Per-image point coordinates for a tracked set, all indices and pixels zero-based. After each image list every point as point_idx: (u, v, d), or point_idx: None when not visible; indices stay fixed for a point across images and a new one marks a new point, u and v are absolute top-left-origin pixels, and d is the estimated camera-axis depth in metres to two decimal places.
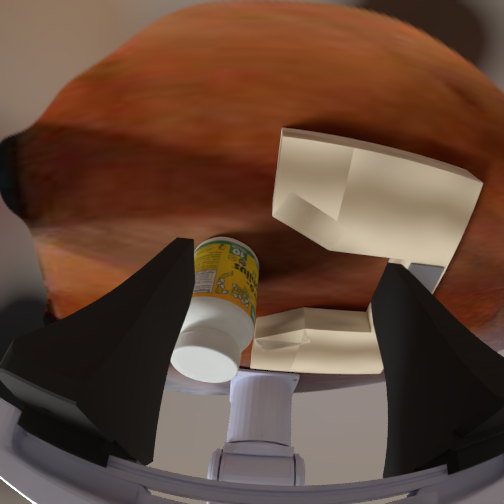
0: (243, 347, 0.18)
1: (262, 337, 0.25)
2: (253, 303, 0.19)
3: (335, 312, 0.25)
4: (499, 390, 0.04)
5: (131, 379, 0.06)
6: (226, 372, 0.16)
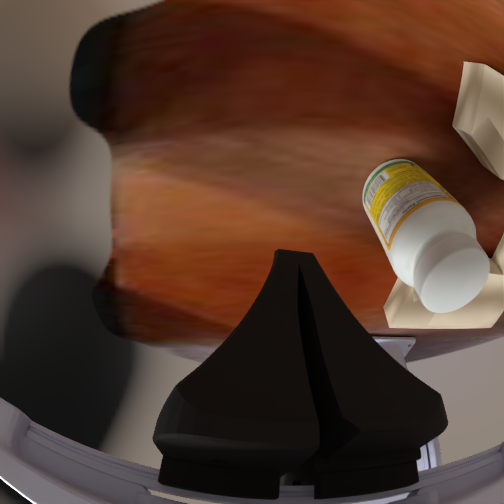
0: None
1: None
2: None
3: None
4: (356, 410, 0.04)
5: None
6: (473, 290, 0.11)
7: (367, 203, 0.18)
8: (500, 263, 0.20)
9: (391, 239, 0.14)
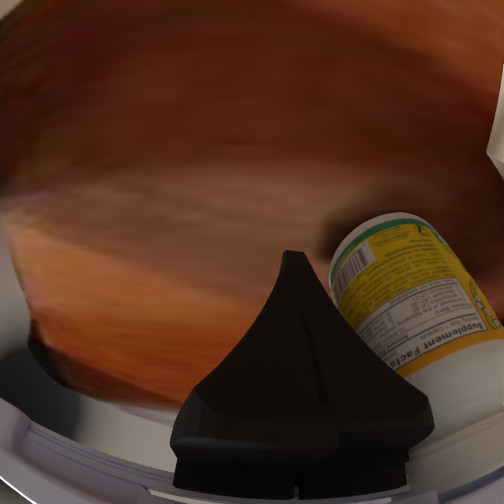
0: None
1: None
2: None
3: None
4: (337, 410, 0.04)
5: None
6: None
7: (334, 295, 0.11)
8: None
9: None
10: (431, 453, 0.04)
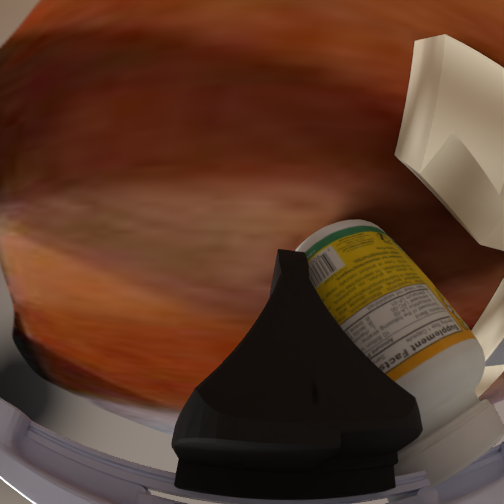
0: None
1: None
2: None
3: None
4: (319, 410, 0.04)
5: None
6: None
7: None
8: None
9: None
10: (430, 445, 0.05)
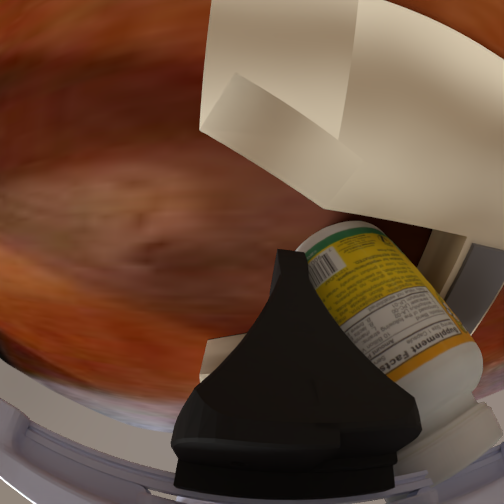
0: None
1: None
2: None
3: None
4: (318, 410, 0.04)
5: None
6: None
7: None
8: None
9: None
10: (429, 446, 0.05)
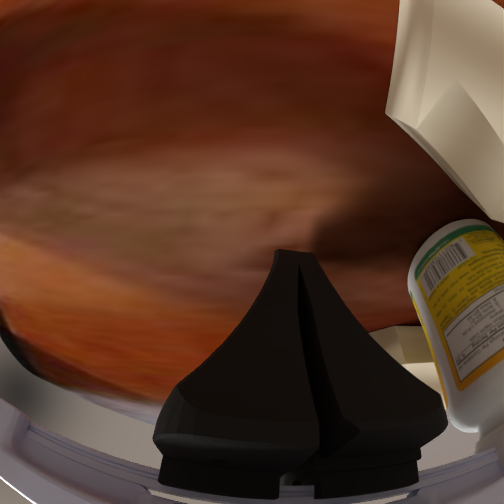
0: None
1: None
2: None
3: None
4: (357, 410, 0.04)
5: None
6: None
7: (423, 282, 0.10)
8: None
9: (471, 379, 0.06)
10: None
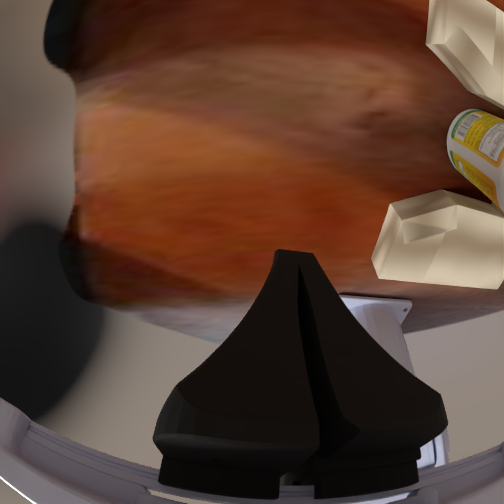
0: None
1: (410, 218, 0.17)
2: None
3: (469, 198, 0.18)
4: (357, 410, 0.04)
5: None
6: None
7: (458, 136, 0.14)
8: None
9: (501, 156, 0.10)
10: None
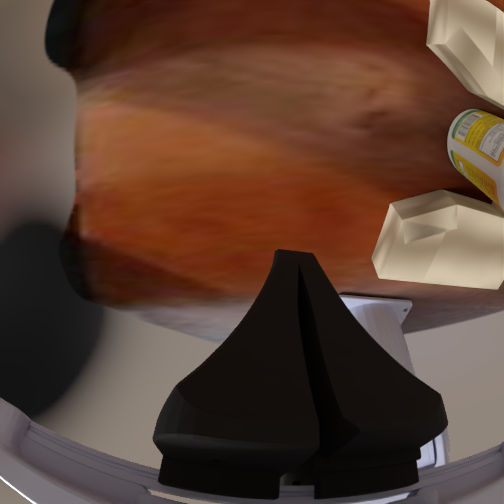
0: None
1: (411, 218, 0.17)
2: None
3: (470, 198, 0.18)
4: (357, 410, 0.04)
5: None
6: None
7: (459, 136, 0.14)
8: None
9: (502, 156, 0.10)
10: None
